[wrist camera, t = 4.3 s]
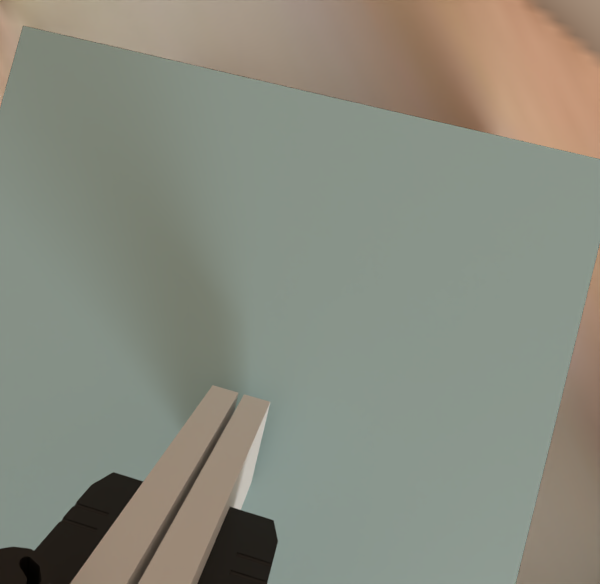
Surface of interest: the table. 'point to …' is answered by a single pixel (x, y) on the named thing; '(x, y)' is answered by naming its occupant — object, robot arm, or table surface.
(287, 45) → the table surface
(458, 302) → the pale teal square panel
